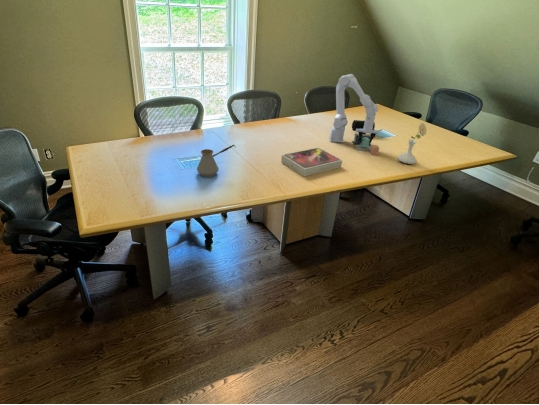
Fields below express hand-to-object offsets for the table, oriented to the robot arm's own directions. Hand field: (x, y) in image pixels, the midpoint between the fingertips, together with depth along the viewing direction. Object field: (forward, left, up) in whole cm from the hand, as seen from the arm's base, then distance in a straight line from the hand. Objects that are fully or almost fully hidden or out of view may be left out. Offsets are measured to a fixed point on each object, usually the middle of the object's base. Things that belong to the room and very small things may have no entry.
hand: (364, 143), depth 227 cm
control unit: (0, +9, -3) cm, 9 cm away
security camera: (+5, +28, -4) cm, 29 cm away
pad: (0, 0, -3) cm, 3 cm away
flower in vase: (+24, -18, -4) cm, 30 cm away
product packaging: (-38, -32, -4) cm, 50 cm away
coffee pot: (-91, -51, -4) cm, 104 cm away
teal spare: (0, 0, -2) cm, 2 cm away
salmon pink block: (+5, -8, -3) cm, 10 cm away
